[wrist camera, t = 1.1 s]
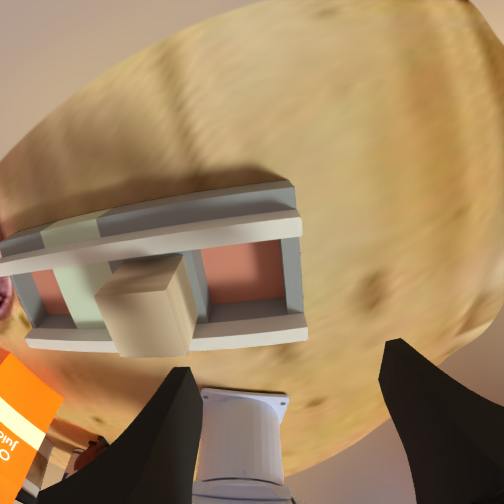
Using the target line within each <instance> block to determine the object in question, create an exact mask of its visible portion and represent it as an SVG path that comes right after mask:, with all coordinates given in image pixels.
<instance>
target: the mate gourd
mask: <svg viewBox="0 0 504 504" xmlns="http://www.w3.org/2000/svg"><path fill="white" fill-rule="evenodd" d="M98 439H99V441H98V443H96V442H93V441H89V445H90V446H89V447H88V448H87V449H86V450H85V451H83V452H82V453H81V454H80V455H79V456H78V457H77V459H76V461H75V464H74V471H73V474H74V473H75V472H77V471H78V470H80V469H81V468H83V467H84V466H86V465H87V464H88V463H90V462H91V461H92V460H94V459H95V458H96V457H97V456H99V455H100V454H101V453H102V452H103V451H104V450H106V449H107V448H108V447H109V444H108V443H107V441H106V440H105V438H104V437H102V436H98Z"/></svg>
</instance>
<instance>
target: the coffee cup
mask: <svg viewBox="0 0 504 504" xmlns="http://www.w3.org/2000/svg"><path fill="white" fill-rule="evenodd" d="M52 448H53V445H52V443H51V442H50V441H49V440H48V439H47V438H46V437H44V439H43V441H42V443H41V445H40V447H39V449H38V451H37V452H36V454H35V457H34V459H33V461H32V463H31V466H30V468H29V470H28V472H27V475H26V477H25V479H24V482H23V484H22V487H21V489H20V490H19V492H18V494H17V496H16V498H15V500H17V501H19V502H21V503H23V504H34V503H35V500H36V497H37V495H38V492H39V490H40V489H41V486H42V482H43V478H44V474H45V471H46V467H47V464H48V460H49V457H50V454H51V451H52Z"/></svg>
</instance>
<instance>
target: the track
mask: <svg viewBox="0 0 504 504" xmlns="http://www.w3.org/2000/svg"><path fill="white" fill-rule="evenodd" d="M300 236H303V235H302V222H301V216H300V214H299V212H298V211H297V209H296V198H295V188H294V186H293V185H292V184H291V182H290V181H289V180H283V181H274V182H265V183H257V184H250V185H242V186H235V187H228V188H221V189H214V190H207V191H201V192H195V193H189V194H183V195H177V196H171V197H166V198H160V199H155V200H150V201H144V202H139V203H134V204H129V205H125V206H120V207H115V208H110V209H106V210H101V211H97V212H92V213H88V214H84V215H80V216H75V217H71V218H67V219H63V220H59V221H55V222H52V223H48V224H44V225H40V226H37V227H33V228H29V229H26V230H22V231H19V232H16V233H14V234H12V235H11V236H9V237H7V238H6V239H4V240H2V241H1V242H0V251H1V254H2V258H1V259H0V277H1V276H8V275H9V276H10V279H11V281H12V284H13V286H14V288H15V291H16V293H17V295H18V298H19V300H20V302H21V304H22V307H23V309H24V311H25V313H26V315H27V317H28V319H29V321H30V323H31V325H32V327H33V329H32V330H31V331H30V332H29V333H28V334H27V336H26V337H25V340H26V342H27V344H28V346H29V347H30V348H37V349H49V350H62V351H79V352H107V353H118V350H117V348H116V346H115V344H114V342H113V340H112V338H111V336H110V334H109V331H108V329H107V327H106V325H105V322H104V320H103V318H102V315H101V313H100V311H99V308H98V306H97V303H96V301H95V298H94V296H95V294H96V293H97V292H98V291H99V290H100V288H101V287H102V286H103V285H104V284H105V282H106V281H107V280H108V279H109V278H110V277H111V275H112V274H113V273H114V272H115V271H116V270H117V269H118V267H119V266H120V265H121V264H122V263H126V262H133V261H141V260H149V259H157V258H164V257H172V256H180V255H184V259H185V263H186V267H187V271H188V275H189V279H190V283H191V287H192V291H193V295H194V299H195V303H196V307H197V310H198V317H197V321H196V324H195V328H194V332H193V336H192V340H191V344H190V348H189V351H205V350H220V349H233V348H244V347H254V346H264V345H273V344H281V343H289V342H297V341H304V340H308V327H307V323H306V319H305V316H304V309H303V290H302V274H301V259H300V245H299V237H300Z"/></svg>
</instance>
